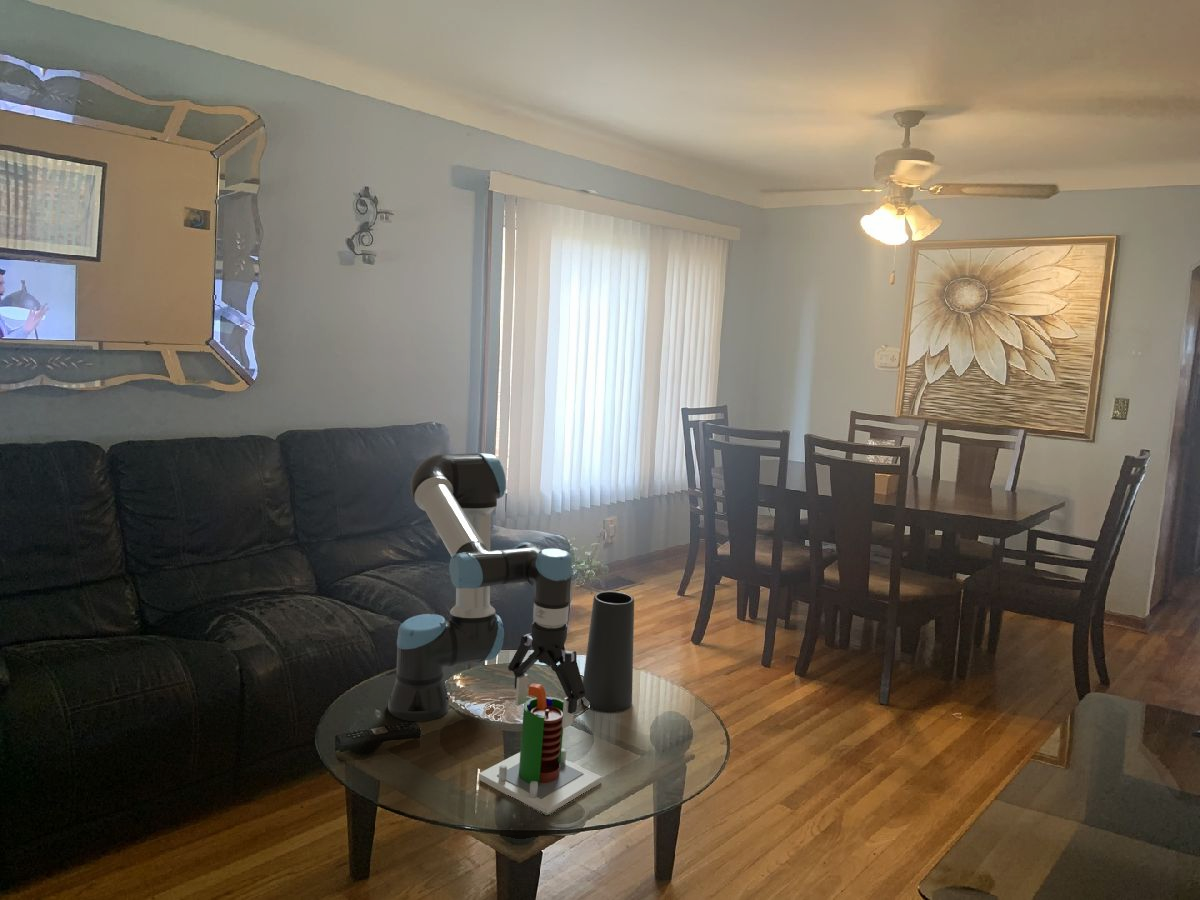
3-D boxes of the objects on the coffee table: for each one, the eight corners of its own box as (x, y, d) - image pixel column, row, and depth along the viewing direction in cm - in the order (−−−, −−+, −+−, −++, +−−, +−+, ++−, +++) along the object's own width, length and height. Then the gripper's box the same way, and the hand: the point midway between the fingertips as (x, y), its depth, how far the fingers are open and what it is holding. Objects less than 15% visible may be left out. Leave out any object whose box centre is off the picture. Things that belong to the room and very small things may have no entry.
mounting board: (478, 779, 194) (479, 760, 193) (534, 750, 208) (535, 732, 207) (547, 816, 182) (548, 796, 181) (601, 782, 196) (602, 764, 195)
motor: (552, 788, 189) (558, 700, 186) (512, 781, 191) (517, 694, 188) (564, 765, 199) (570, 681, 196) (526, 758, 201) (531, 675, 198)
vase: (632, 714, 230) (640, 608, 225) (579, 711, 230) (587, 604, 225) (631, 692, 243) (639, 590, 238) (581, 688, 243) (588, 587, 238)
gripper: (495, 609, 194) (490, 700, 197) (584, 644, 179) (576, 741, 183) (519, 601, 199) (513, 689, 203) (607, 634, 185) (599, 728, 188)
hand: (543, 714), depth 193 cm, fingers open, 13 cm apart
